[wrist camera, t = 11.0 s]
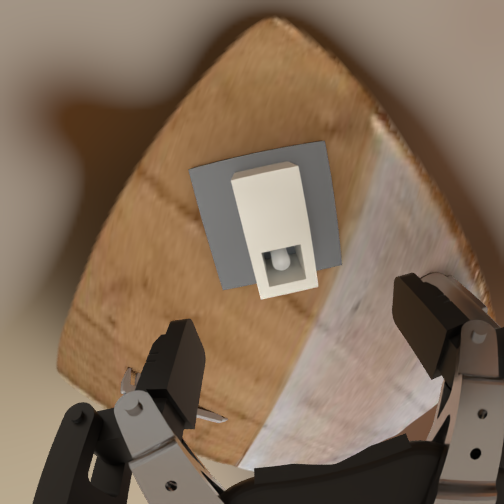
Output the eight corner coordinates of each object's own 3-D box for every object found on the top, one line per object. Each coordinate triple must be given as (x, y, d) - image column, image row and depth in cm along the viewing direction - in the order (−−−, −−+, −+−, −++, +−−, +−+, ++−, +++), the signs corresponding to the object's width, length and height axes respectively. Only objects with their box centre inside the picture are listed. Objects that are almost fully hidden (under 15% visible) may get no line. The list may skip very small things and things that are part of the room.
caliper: (127, 368, 39) (115, 395, 33) (129, 365, 39) (117, 393, 33) (224, 419, 44) (223, 446, 38) (228, 417, 44) (226, 445, 38)
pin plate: (321, 140, 26) (340, 140, 21) (338, 260, 32) (356, 285, 26) (190, 168, 27) (176, 175, 22) (223, 285, 33) (219, 315, 27)
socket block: (287, 161, 26) (298, 165, 21) (305, 260, 30) (318, 286, 25) (234, 172, 26) (230, 180, 21) (258, 270, 31) (260, 299, 25)
